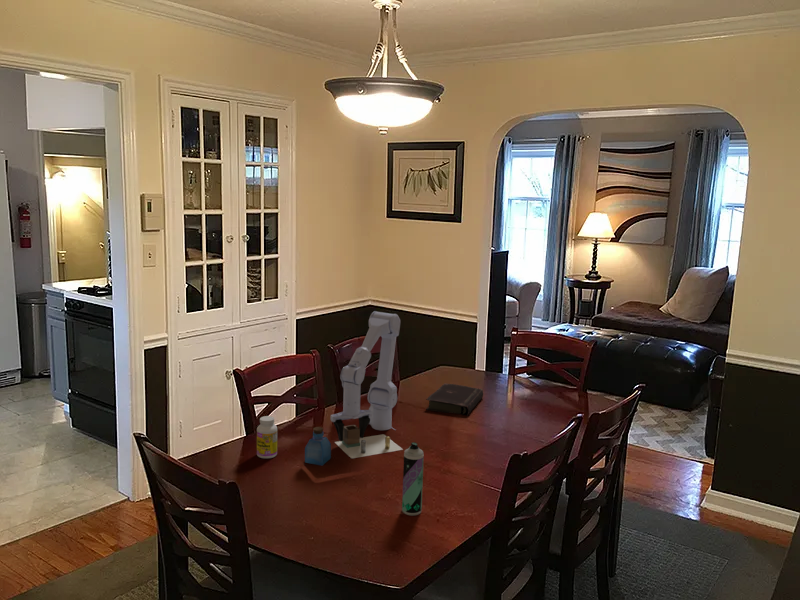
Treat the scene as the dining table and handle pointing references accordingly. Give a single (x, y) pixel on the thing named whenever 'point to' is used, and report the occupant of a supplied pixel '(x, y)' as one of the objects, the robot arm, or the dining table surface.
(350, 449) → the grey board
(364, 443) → the steel pin
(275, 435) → the supplement bottle
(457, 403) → the diary
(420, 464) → the spray can
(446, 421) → the dining table surface
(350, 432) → the walnut sleeve
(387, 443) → the brass pin
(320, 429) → the perfume bottle
